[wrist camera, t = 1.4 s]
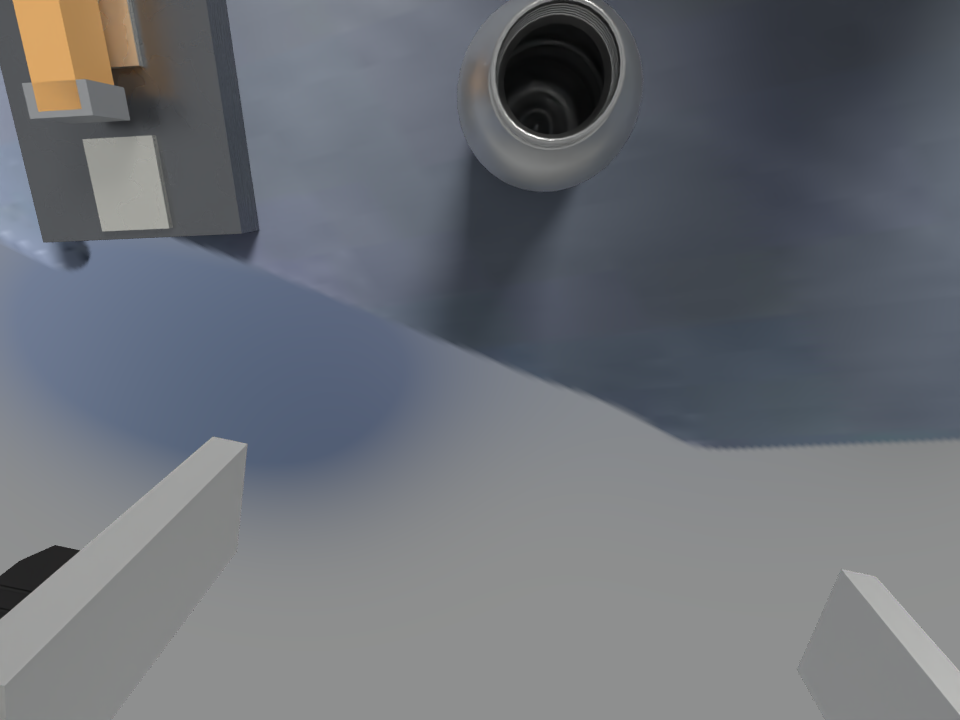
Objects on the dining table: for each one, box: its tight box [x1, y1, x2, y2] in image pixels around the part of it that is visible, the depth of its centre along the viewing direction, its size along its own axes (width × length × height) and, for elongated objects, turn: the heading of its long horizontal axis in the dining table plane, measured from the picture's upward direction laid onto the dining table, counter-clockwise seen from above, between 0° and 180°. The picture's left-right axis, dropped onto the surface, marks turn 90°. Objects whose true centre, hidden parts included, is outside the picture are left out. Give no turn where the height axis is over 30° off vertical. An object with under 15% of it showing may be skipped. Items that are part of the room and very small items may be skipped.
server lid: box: [0, 0, 259, 242], centre depth 35 cm, size 16×12×3 cm
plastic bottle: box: [457, 0, 643, 192], centre depth 26 cm, size 6×7×20 cm
